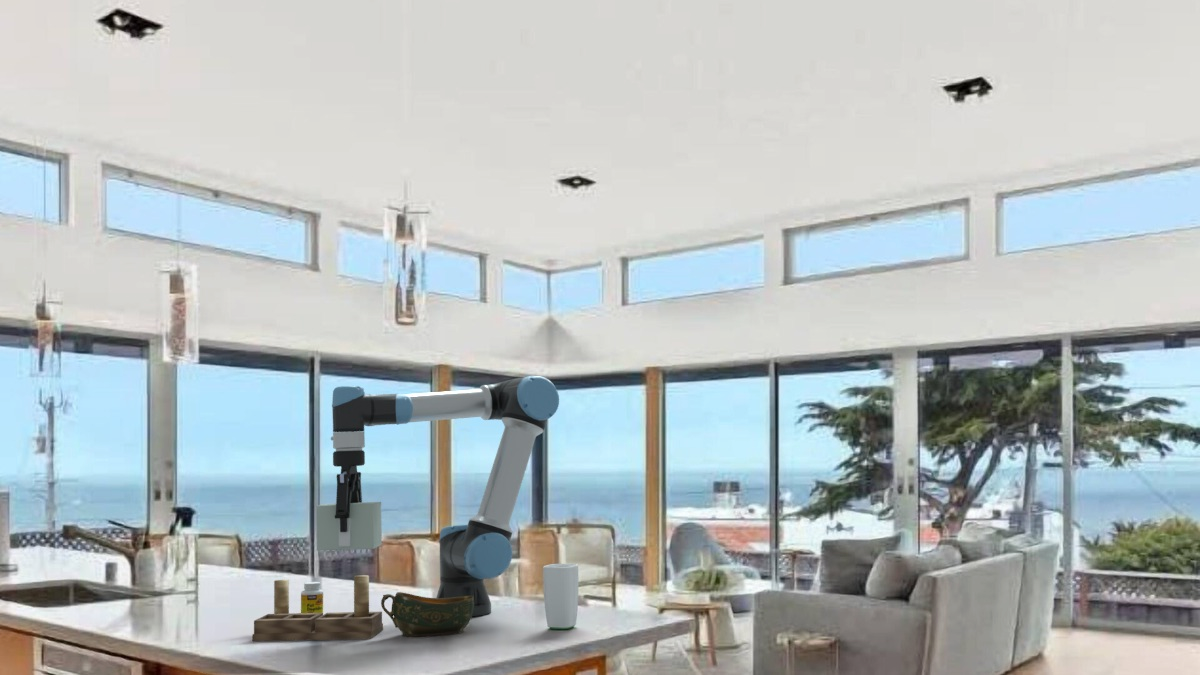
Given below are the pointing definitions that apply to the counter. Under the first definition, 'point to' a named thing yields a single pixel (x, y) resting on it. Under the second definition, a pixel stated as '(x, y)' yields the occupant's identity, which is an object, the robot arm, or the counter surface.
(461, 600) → the green gravy boat
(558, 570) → the cup
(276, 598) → the peg
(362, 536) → the pale green boxy piece
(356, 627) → the wooden compartment tray
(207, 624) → the counter surface
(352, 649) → the counter surface
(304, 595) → the supplement bottle
